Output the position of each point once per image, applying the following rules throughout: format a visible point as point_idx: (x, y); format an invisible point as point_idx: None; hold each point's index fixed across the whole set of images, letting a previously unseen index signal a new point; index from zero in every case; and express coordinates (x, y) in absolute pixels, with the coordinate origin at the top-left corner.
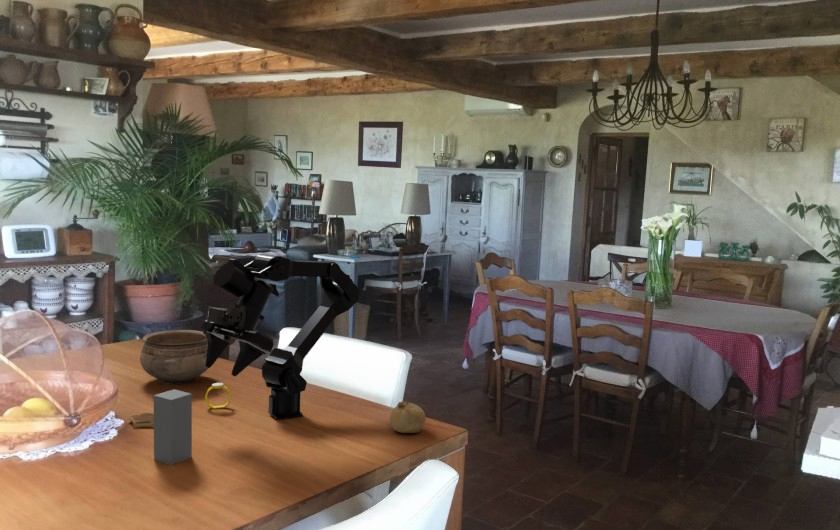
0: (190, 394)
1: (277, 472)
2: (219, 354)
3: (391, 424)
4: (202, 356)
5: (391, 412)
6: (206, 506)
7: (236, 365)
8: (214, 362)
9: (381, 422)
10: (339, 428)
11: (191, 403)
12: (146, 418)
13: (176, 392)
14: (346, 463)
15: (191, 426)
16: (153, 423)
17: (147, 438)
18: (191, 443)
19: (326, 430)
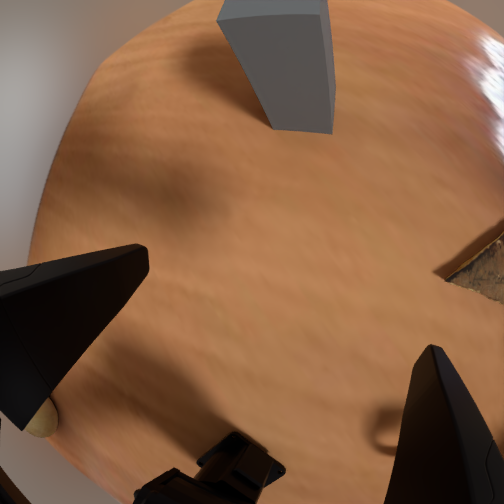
0: (217, 18)
1: (103, 170)
2: (390, 492)
3: (46, 401)
4: None
5: (39, 416)
6: (148, 48)
7: (79, 255)
8: (402, 419)
9: (83, 440)
10: (108, 407)
11: (229, 43)
12: None
13: (279, 2)
14: (48, 256)
15: (253, 87)
16: (494, 241)
17: (448, 173)
18: (265, 112)
19: (118, 393)
